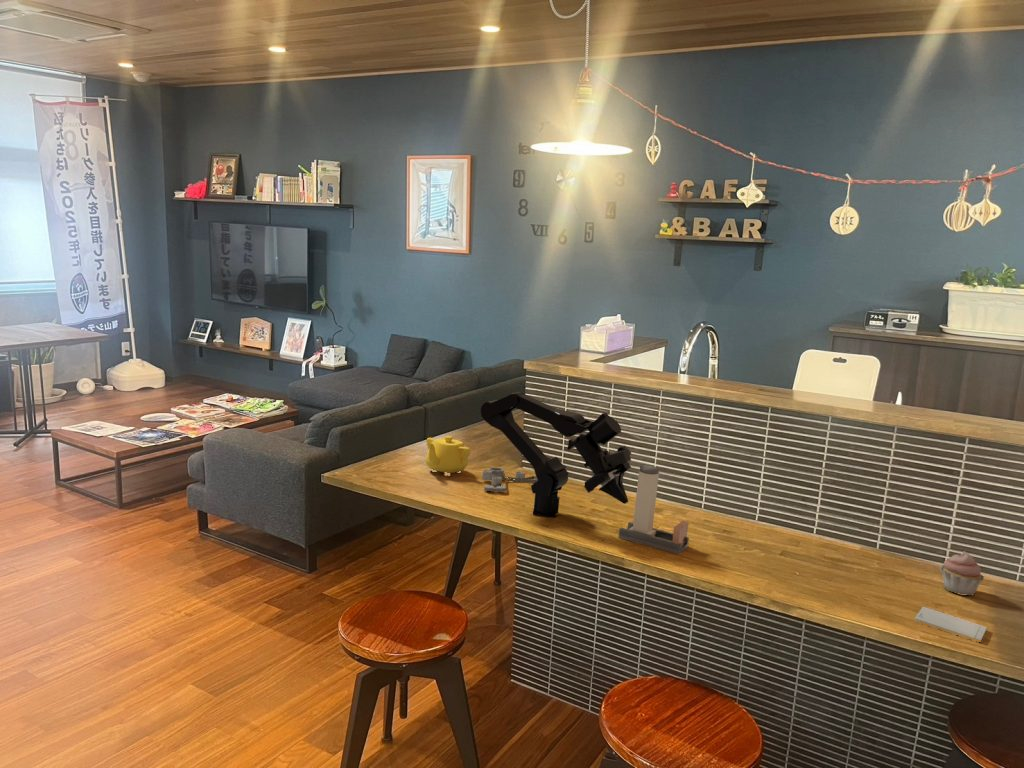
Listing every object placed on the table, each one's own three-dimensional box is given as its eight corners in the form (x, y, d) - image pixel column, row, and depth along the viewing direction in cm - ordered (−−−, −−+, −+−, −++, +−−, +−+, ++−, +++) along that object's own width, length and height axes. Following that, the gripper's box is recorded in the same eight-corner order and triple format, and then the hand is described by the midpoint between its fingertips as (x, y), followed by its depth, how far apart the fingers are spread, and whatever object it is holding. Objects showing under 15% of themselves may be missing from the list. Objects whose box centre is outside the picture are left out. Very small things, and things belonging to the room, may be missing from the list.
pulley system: (459, 487, 232) (496, 497, 223) (460, 472, 232) (497, 481, 222) (515, 475, 253) (551, 484, 244) (516, 461, 253) (552, 469, 243)
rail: (618, 537, 196) (621, 514, 195) (628, 530, 203) (631, 507, 202) (679, 554, 188) (682, 529, 187) (688, 546, 194) (691, 522, 193)
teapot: (420, 465, 249) (422, 430, 247) (463, 466, 252) (465, 432, 250) (424, 477, 235) (426, 441, 233) (469, 478, 238) (472, 442, 237)
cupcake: (933, 579, 186) (940, 541, 184) (976, 588, 182) (984, 549, 181) (938, 593, 177) (946, 553, 176) (984, 603, 174) (992, 562, 172)
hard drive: (914, 617, 161) (981, 638, 153) (923, 605, 167) (987, 625, 159) (913, 624, 161) (980, 646, 153) (921, 612, 167) (986, 633, 159)
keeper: (627, 533, 196) (635, 467, 193) (634, 529, 200) (642, 463, 198) (649, 539, 193) (657, 472, 190) (656, 534, 197) (663, 468, 195)
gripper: (599, 443, 190) (636, 494, 187) (627, 432, 206) (661, 479, 202) (569, 466, 195) (603, 517, 192) (598, 454, 211) (631, 500, 208)
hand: (626, 502), depth 198 cm, fingers closed
